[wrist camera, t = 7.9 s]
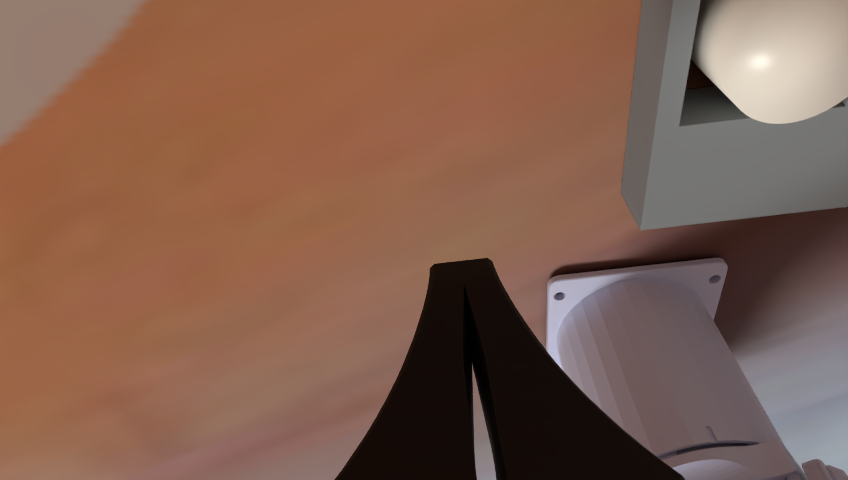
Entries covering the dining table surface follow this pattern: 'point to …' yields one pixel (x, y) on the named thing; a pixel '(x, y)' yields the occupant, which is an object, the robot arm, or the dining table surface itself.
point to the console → (717, 141)
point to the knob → (775, 55)
